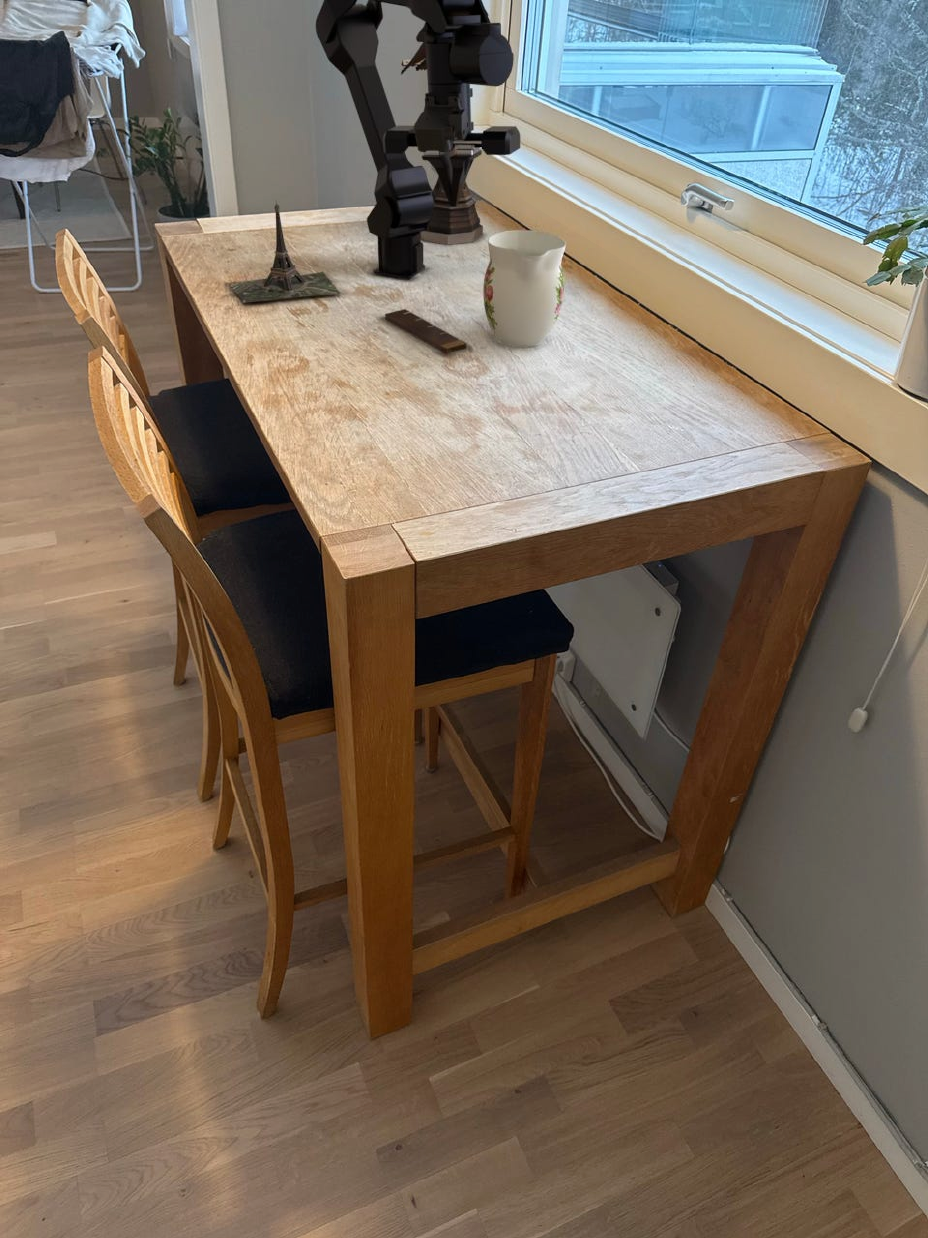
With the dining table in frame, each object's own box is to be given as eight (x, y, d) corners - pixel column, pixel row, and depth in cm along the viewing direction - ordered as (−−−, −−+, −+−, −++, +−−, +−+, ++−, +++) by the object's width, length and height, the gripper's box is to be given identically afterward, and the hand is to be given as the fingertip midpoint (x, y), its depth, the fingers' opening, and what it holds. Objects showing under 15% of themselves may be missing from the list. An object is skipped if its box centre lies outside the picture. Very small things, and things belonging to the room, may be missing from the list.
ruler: (385, 319, 130) (384, 312, 130) (404, 314, 132) (404, 308, 132) (445, 354, 121) (446, 347, 121) (466, 348, 123) (466, 342, 123)
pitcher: (549, 312, 134) (558, 215, 126) (566, 361, 121) (577, 257, 112) (476, 311, 134) (480, 214, 125) (485, 361, 120) (490, 256, 111)
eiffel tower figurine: (242, 307, 132) (230, 211, 124) (229, 284, 140) (216, 192, 131) (340, 296, 137) (335, 203, 128) (322, 274, 144) (316, 185, 136)
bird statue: (390, 221, 167) (384, -6, 145) (453, 214, 172) (458, -7, 149) (424, 248, 156) (423, 5, 134) (491, 240, 160) (502, 4, 138)
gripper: (361, 89, 117) (373, 217, 127) (496, 88, 112) (498, 221, 121) (393, 79, 126) (402, 199, 135) (521, 78, 121) (521, 203, 130)
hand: (454, 206), depth 130 cm, fingers closed
